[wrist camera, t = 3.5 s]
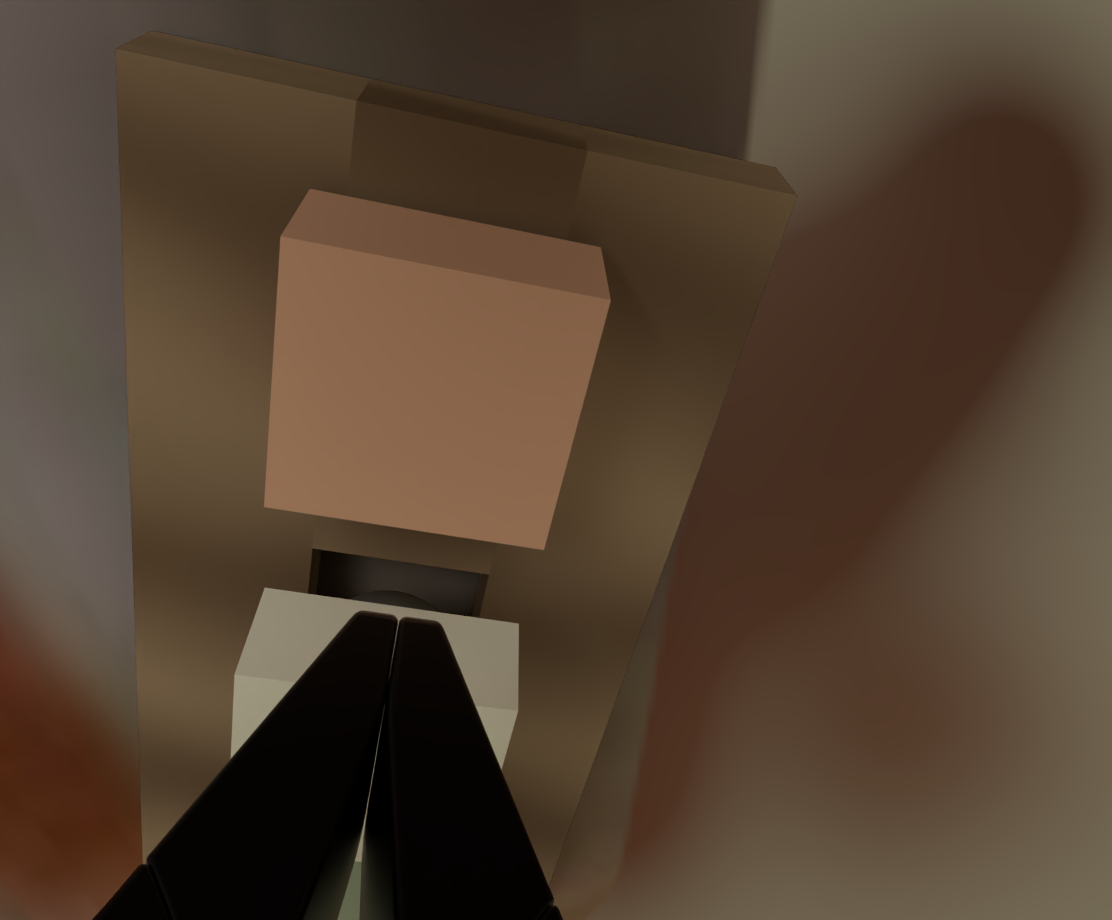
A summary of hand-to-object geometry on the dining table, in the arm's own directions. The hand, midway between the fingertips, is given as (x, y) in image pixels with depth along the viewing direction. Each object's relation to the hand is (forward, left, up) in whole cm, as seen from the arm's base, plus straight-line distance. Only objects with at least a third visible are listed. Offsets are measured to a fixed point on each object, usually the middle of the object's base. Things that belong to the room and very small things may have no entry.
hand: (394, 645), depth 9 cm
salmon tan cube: (0, 0, -8) cm, 8 cm away
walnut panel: (-7, 0, -9) cm, 11 cm away
